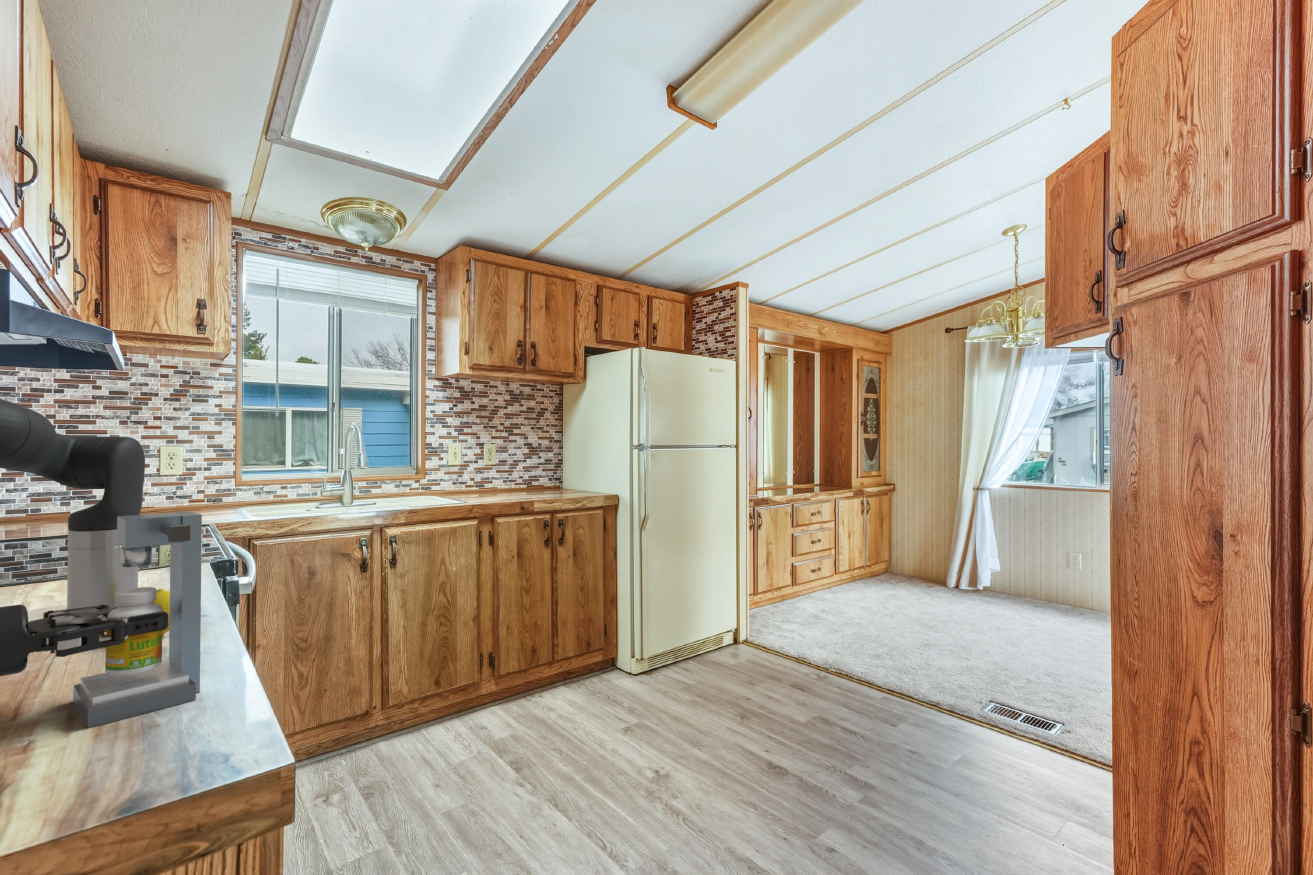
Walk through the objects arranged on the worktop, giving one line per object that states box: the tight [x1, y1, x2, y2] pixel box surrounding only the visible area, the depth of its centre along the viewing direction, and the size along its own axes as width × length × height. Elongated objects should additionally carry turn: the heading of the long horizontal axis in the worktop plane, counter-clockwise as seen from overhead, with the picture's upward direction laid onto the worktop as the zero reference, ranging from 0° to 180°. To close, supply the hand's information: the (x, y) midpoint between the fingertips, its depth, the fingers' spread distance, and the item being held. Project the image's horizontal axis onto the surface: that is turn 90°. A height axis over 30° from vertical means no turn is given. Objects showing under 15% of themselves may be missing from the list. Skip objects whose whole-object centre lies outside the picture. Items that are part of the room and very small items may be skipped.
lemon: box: [154, 588, 170, 637], centre depth 101 cm, size 6×6×8 cm
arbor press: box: [72, 510, 203, 729], centre depth 76 cm, size 15×11×23 cm
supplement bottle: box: [104, 586, 163, 675], centre depth 77 cm, size 5×5×10 cm
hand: (161, 615), depth 79 cm, fingers closed on supplement bottle, 5 cm apart
